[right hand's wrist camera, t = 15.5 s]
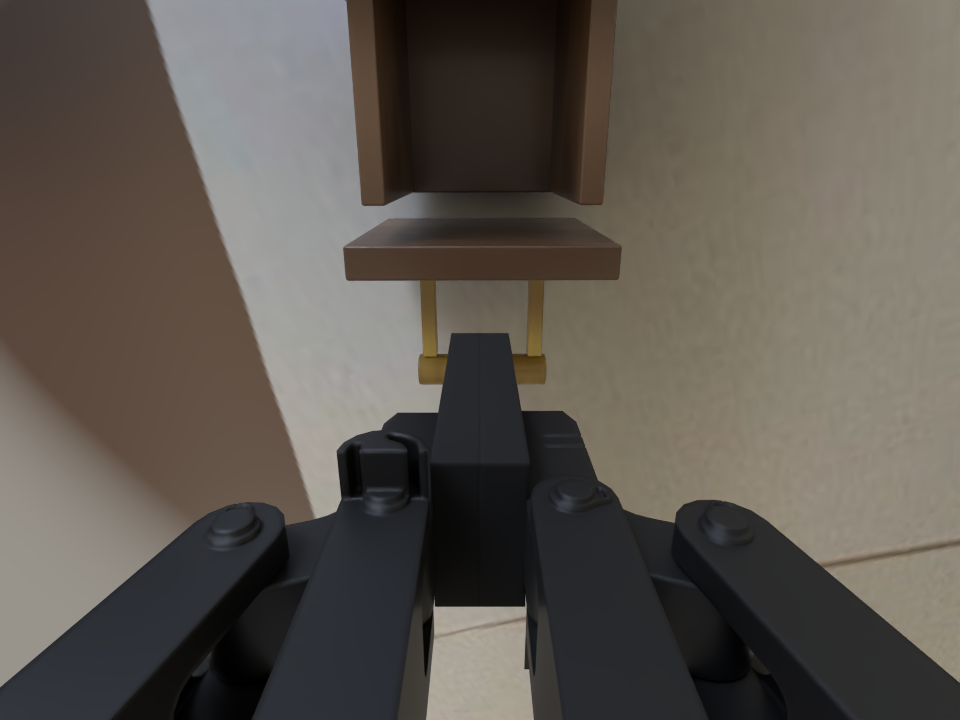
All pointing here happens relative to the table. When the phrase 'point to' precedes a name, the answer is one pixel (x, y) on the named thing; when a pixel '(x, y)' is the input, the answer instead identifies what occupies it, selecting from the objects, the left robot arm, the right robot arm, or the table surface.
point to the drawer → (482, 145)
